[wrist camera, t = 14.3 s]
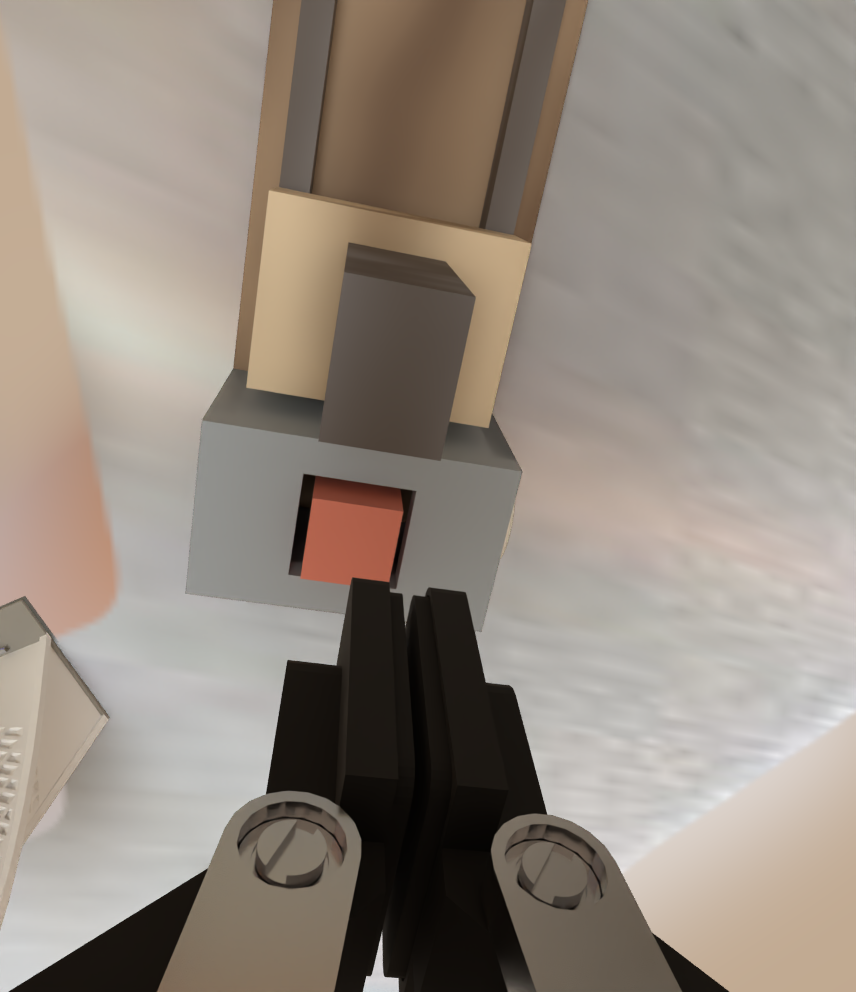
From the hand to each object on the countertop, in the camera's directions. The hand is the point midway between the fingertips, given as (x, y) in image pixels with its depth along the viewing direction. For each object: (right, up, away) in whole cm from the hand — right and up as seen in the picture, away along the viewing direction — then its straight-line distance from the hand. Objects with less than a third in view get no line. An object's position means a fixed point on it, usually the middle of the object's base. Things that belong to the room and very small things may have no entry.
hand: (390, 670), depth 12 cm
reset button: (-2, +3, +17) cm, 17 cm away
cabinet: (-3, +4, +22) cm, 22 cm away
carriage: (-1, +9, +16) cm, 19 cm away
